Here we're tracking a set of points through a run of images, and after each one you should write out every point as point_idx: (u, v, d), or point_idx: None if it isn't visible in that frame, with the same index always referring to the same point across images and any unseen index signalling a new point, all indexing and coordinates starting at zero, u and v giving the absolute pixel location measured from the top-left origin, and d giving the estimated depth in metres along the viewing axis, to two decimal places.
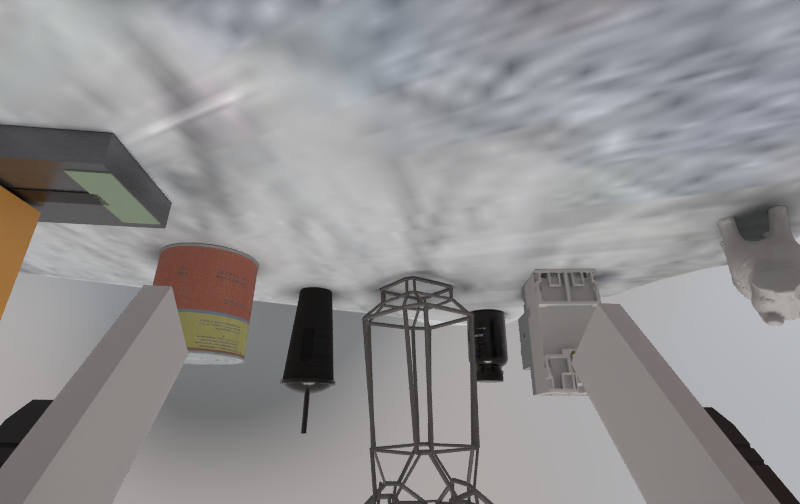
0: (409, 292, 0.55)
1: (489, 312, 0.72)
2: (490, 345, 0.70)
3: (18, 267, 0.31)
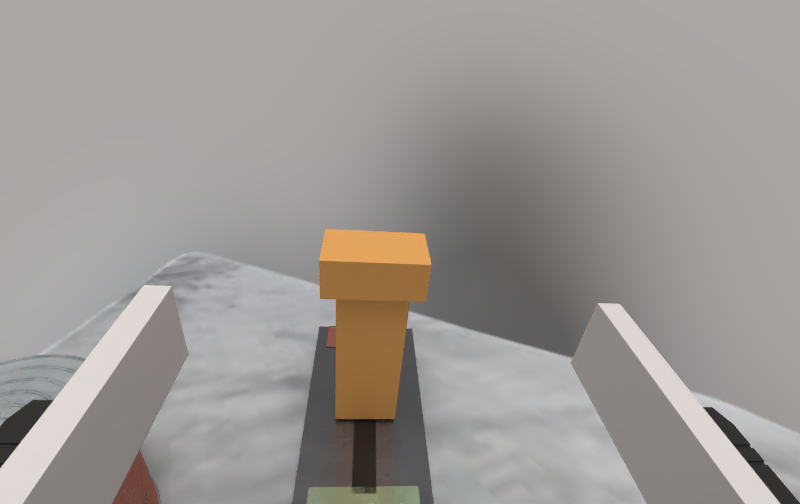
0: None
1: None
2: None
3: (337, 380, 0.32)
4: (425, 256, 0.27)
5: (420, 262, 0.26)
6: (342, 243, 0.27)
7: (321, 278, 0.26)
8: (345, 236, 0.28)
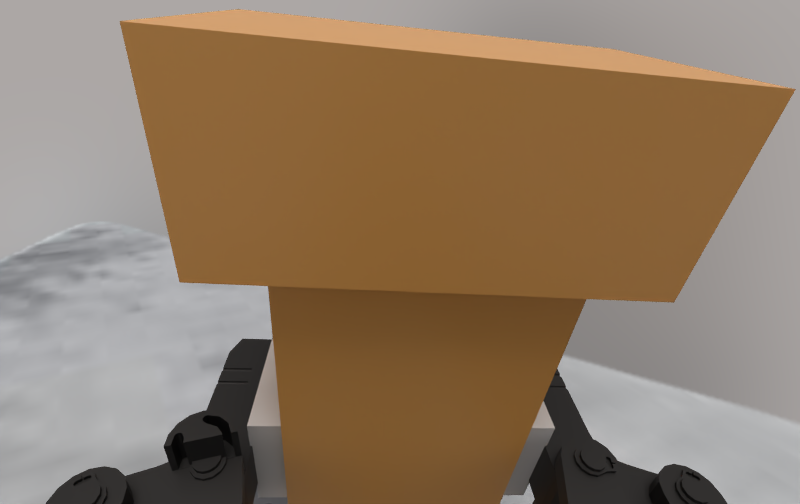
0: None
1: None
2: None
3: None
4: (712, 73, 0.05)
5: (728, 80, 0.05)
6: (294, 22, 0.06)
7: (162, 162, 0.05)
8: (316, 20, 0.07)
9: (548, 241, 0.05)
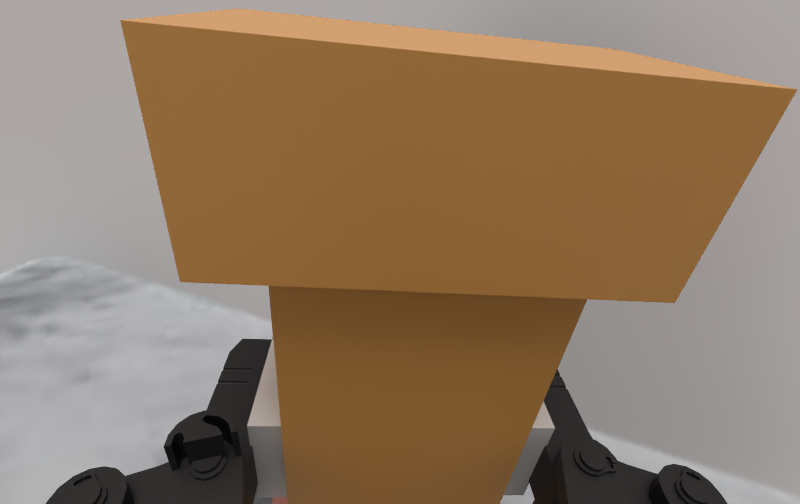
0: None
1: None
2: None
3: None
4: (713, 72, 0.05)
5: (730, 80, 0.05)
6: (295, 22, 0.06)
7: (163, 162, 0.05)
8: (316, 20, 0.06)
9: (549, 241, 0.05)
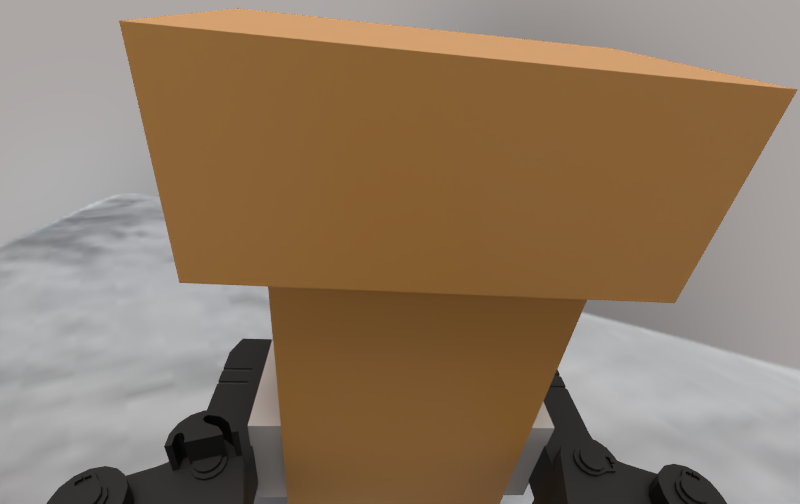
0: None
1: None
2: None
3: None
4: (713, 72, 0.05)
5: (729, 80, 0.05)
6: (294, 21, 0.06)
7: (162, 162, 0.04)
8: (315, 20, 0.06)
9: (549, 241, 0.05)
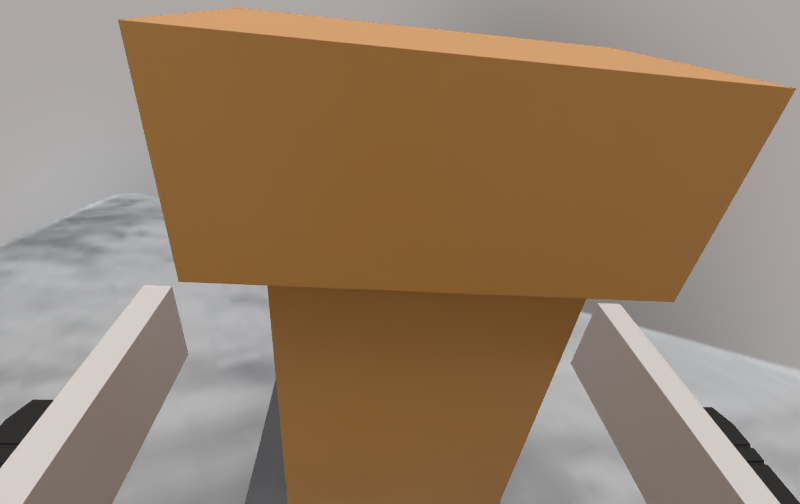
0: None
1: None
2: None
3: None
4: (713, 71, 0.05)
5: (729, 78, 0.05)
6: (293, 21, 0.06)
7: (161, 161, 0.05)
8: (315, 19, 0.06)
9: (548, 240, 0.05)
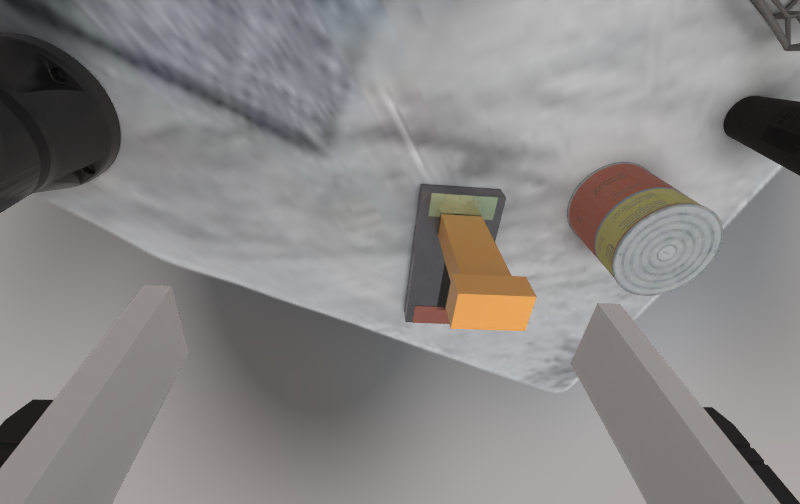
0: None
1: None
2: None
3: (490, 236, 0.46)
4: (459, 302, 0.36)
5: (465, 295, 0.35)
6: (516, 314, 0.37)
7: (530, 287, 0.37)
8: (512, 322, 0.37)
9: (478, 280, 0.37)
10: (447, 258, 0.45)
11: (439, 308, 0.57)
